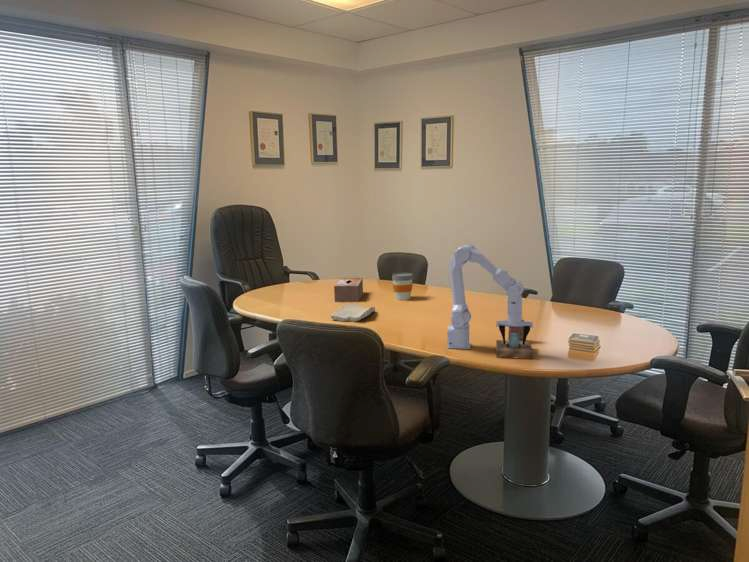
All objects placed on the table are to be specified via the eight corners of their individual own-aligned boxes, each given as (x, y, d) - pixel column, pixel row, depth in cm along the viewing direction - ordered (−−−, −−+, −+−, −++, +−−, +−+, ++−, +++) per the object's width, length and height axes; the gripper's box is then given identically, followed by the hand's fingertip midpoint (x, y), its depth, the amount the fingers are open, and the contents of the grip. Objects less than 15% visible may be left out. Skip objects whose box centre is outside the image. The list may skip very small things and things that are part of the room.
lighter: (524, 339, 241) (525, 317, 239) (527, 341, 238) (527, 319, 236) (506, 340, 241) (507, 318, 239) (509, 342, 237) (509, 320, 236)
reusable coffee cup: (388, 299, 327) (388, 275, 324) (399, 295, 337) (399, 271, 334) (406, 301, 320) (405, 276, 317) (417, 297, 330) (416, 273, 327)
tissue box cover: (340, 293, 350) (340, 278, 348) (363, 293, 349) (362, 277, 347) (334, 302, 325) (334, 286, 323) (358, 302, 324) (358, 285, 322)
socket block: (496, 357, 218) (496, 350, 218) (496, 346, 232) (496, 340, 231) (532, 358, 215) (532, 351, 215) (530, 348, 229) (530, 341, 228)
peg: (508, 354, 222) (508, 335, 220) (509, 351, 225) (509, 332, 224) (518, 354, 220) (518, 336, 219) (519, 351, 224) (519, 333, 223)
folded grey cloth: (381, 314, 297) (348, 308, 304) (381, 301, 295) (348, 295, 302) (363, 327, 275) (328, 320, 282) (364, 313, 273) (329, 307, 280)
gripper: (496, 313, 218) (496, 345, 220) (533, 314, 215) (532, 347, 217) (496, 309, 224) (495, 340, 227) (532, 310, 221) (531, 342, 224)
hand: (513, 343), depth 223 cm, fingers open, 7 cm apart
